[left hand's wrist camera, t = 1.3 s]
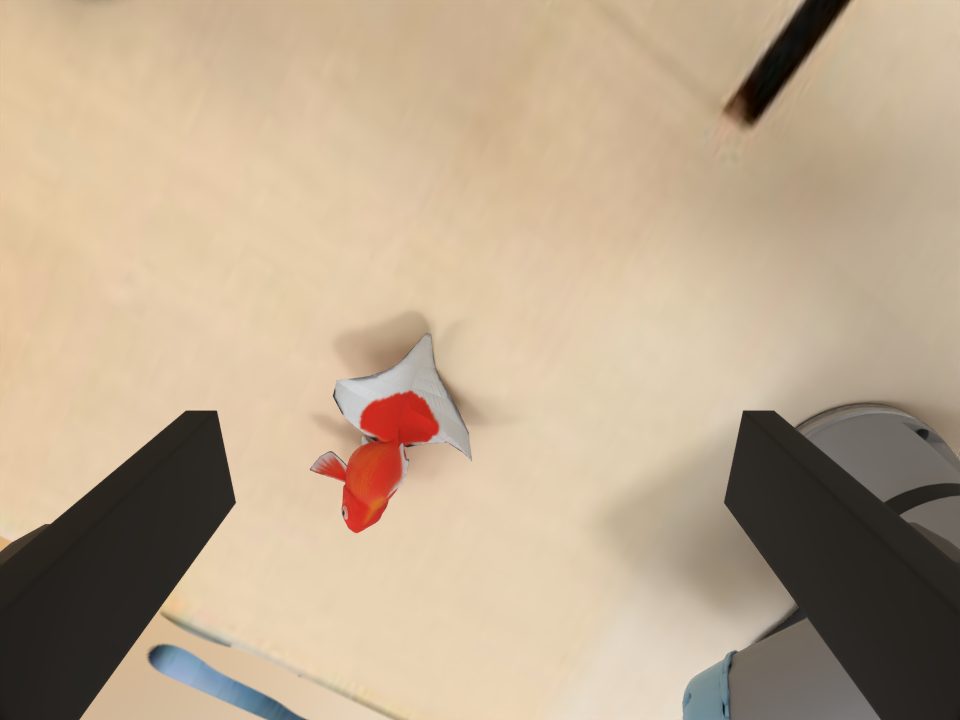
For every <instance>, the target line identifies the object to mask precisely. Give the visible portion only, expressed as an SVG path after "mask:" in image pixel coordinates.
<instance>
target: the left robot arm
mask: <svg viewBox="0 0 960 720" xmlns="http://www.w3.org/2000/svg"><path fill="white" fill-rule="evenodd" d="M235 503H236V501H235V496H234V491H233V486H232V481H231V477H230V472H229V467H228V462H227V457H226V452H225V448H224V443H223V438H222V433H221V428H220V423H219V418H218V414H217V411H185V412H184V413H183V414H182V415H180V416H179V417H178V418H177V419H176V420H174V421H173V422H172V423H171V424H170V425H168V426H167V427H166V428H165V429H164V430H162V431H161V432H160V433H159V434H158V435H156V436H155V437H154V438H153V439H152V440H151V441H149V442H148V443H147V444H146V445H145V446H143V447H142V448H141V449H140V450H139V451H137V452H136V453H135V454H134V455H133V456H131V457H130V458H129V459H128V460H127V461H125V462H124V463H123V464H122V465H121V466H119V467H118V468H117V469H116V470H115V471H113V472H112V473H111V474H110V475H109V476H108V477H106V478H105V479H104V480H103V481H102V482H100V483H99V484H98V485H97V486H96V487H94V488H93V489H92V490H91V491H90V492H88V493H87V494H86V495H85V496H84V497H82V498H81V499H80V500H79V501H78V502H76V503H75V504H74V505H73V506H72V507H70V508H69V509H68V510H67V511H66V512H65V513H63V514H62V515H61V516H60V517H59V518H57V519H56V520H55V521H54V522H53V523H51V524H45V525H43V526H41V527H39V528H37V529H36V530H34V531H32V532H30V533H28V534H27V535H25V536H23V537H21V538H19V539H17V540H16V541H14V542H12V543H11V544H9V545H8V546H7V547H6V548H4V549H3V550H2V551H1V552H0V720H79V719H80V718H81V717H82V715H83V714H84V712H85V711H86V710H87V708H88V707H89V705H90V704H91V703H92V701H93V700H94V699H95V697H96V696H97V694H98V693H99V692H100V690H101V689H102V687H103V686H104V685H105V683H106V682H107V681H108V679H109V678H110V676H111V675H112V674H113V672H114V671H115V669H116V668H117V667H118V665H119V664H120V663H121V661H122V660H123V658H124V657H125V656H126V654H127V653H128V651H129V650H130V649H131V647H132V646H133V645H134V643H135V642H136V640H137V639H138V638H139V636H140V635H141V633H142V632H143V631H144V629H145V628H146V626H147V625H148V624H149V622H150V621H151V620H152V618H153V617H154V615H155V614H156V613H157V611H158V610H159V609H160V607H161V606H162V604H163V603H164V602H165V600H166V599H167V597H168V596H169V595H170V593H171V592H172V591H173V589H174V588H175V586H176V585H177V584H178V582H179V581H180V579H181V578H182V577H183V575H184V574H185V573H186V571H187V570H188V568H189V567H190V566H191V564H192V563H193V561H194V560H195V559H196V557H197V556H198V555H199V553H200V552H201V550H202V549H203V548H204V546H205V545H206V543H207V542H208V541H209V539H210V538H211V537H212V535H213V534H214V532H215V531H216V530H217V528H218V527H219V525H220V524H221V523H222V521H223V520H224V518H225V517H226V516H227V514H228V513H229V512H230V510H231V509H232V507H233V506H234V505H235ZM724 503H725V505H726V506H727V507H728V509H729V510H730V512H731V513H732V514H733V516H734V517H735V518H736V520H737V521H738V523H739V524H740V525H741V527H742V528H743V530H744V531H745V532H746V534H747V535H748V537H749V538H750V539H751V541H752V542H753V543H754V545H755V546H756V548H757V549H758V550H759V552H760V553H761V555H762V556H763V557H764V559H765V560H766V561H767V563H768V564H769V566H770V567H771V568H772V570H773V571H774V573H775V574H776V575H777V577H778V578H779V579H780V581H781V582H782V584H783V585H784V586H785V588H786V589H787V591H788V592H789V593H790V595H791V596H792V597H793V599H794V600H795V602H796V603H797V604H798V606H799V608H798V609H797V610H796V612H795V613H794V614H793V615H792V616H791V617H790V618H788V619H787V620H786V621H785V622H784V623H782V624H781V625H780V626H778V627H777V628H776V629H774V630H773V631H772V632H770V633H769V634H768V635H767V636H765V637H764V638H763V639H762V640H761V641H759V642H757V643H755V644H753V645H751V646H749V647H747V648H745V649H743V650H741V651H739V652H738V651H736V650H735V651H731V652H730V653H728V654H727V655H726V657H725V659H724V660H722V661H720V662H719V663H717V664H715V665H713V666H712V667H710V668H708V669H707V670H705V671H703V672H701V673H700V674H698V675H696V676H695V677H694V678H693V679H692V680H691V681H690V682H689V684H688V685H687V687H686V690H685V693H684V698H683V720H960V460H959V459H958V458H957V457H956V455H955V454H954V453H953V452H952V450H951V449H950V448H949V446H948V445H947V444H946V443H945V441H944V440H943V439H942V438H941V437H940V436H939V435H938V434H937V433H936V432H935V431H934V430H933V429H932V428H930V427H929V426H928V425H926V424H925V423H923V422H921V421H920V420H918V419H916V418H915V417H913V416H911V415H909V414H908V413H906V412H904V411H902V410H899V409H897V408H893V407H890V406H885V405H878V404H858V405H850V406H844V407H841V408H837V409H833V410H830V411H827V412H825V413H822V414H820V415H818V416H816V417H814V418H812V419H810V420H808V421H806V422H805V423H803V424H802V425H800V426H799V427H797V428H796V429H795V428H794V427H793V426H792V425H790V424H789V423H788V422H787V421H786V420H784V419H783V418H782V417H781V416H780V415H778V414H777V413H776V412H775V411H743V414H742V418H741V423H740V428H739V433H738V438H737V443H736V448H735V452H734V457H733V462H732V467H731V472H730V477H729V481H728V486H727V491H726V496H725V501H724Z"/></svg>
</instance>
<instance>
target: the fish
mask: <svg viewBox="0 0 960 720" xmlns="http://www.w3.org/2000/svg"><path fill="white" fill-rule="evenodd" d="M333 397H334V399H335V401H336V403H337V405H338V407H339V409H340V411H341V413H342V414H343V415H344V416H345V417H346V418H347V419H348V421H349V422H350V423H351V424H353V425H354V426H355V427H357V428H358V429H359V430H361V431H362V432H363V433H365V434H366V435H367V436H369V437H370V438H372V439H373V440H374V441H375V442H369V441H368V440H367V439H366V438H365V437H364V436H362V446H361V447H359V448H358V449H357V450H356V451H355V452H354V453H353V454H352V456H351V457H350V459H349V462H348V465H346V464H345V463H344V462H343V461H342V460H341V459H340V458H339V457H338V456H337V455H336V454H335V453H333V452H331V451H330V452H327V453H325V454H324V455H322V456H320V457H319V458H318V460H317V461H316V462H315V463H314V464H313V466H312V467H311V469H310V470H312V471H314V472H316V473H319V474H322V475H325V476H328V477H332V478H335V479H338V480H340V481H343V482H346V483H345V485H344V487H343V503H342V515H343V518H344V520H345V522H346V524H347V526H348V528H349V529H350V530H352V531H353V532H355V533H359V532H361V531H363V530H364V529H366V528H367V527H369V526H371V525H373V524H375V523H376V522H378V521H379V519H380V518H381V515H382V513H383V512H384V510H385V509H386V507H387V504H388V501H389V499H390V498H391V497H392V496H393V494H394V493H395V492H396V490H397V489H398V487H399V486H400V485H401V484H402V483H403V481H404V479H405V476H406V473H407V468H408V463H409V459H407V460H406V454H405V451H404V446H405V447H411V446H415V445H420V444H425V443H446V442H448V443H449V444H451V445H452V446H454V447H455V448H457V449H458V450H460V451H461V452H463V453H464V454H465V455H466V456H467V457H468V458H469V459H470V460H471V461H472V457H471V449H470V440H469V432H468V430H467V428H466V426H465V424H464V422H463V420H462V418H461V415H460V413H459V411H458V409H457V407H456V405H455V403H454V401H453V400H452V398H451V396H450V394H449V393H448V391H447V389H446V388H445V386H444V384H443V382H442V380H441V379H440V377H439V375H438V373H437V371H436V369H435V363H434V356H433V349H432V337H431V334H425V335H424V336H423V337H422V338H421V339H420V341H419V342H418V343H417V344H416V346H415V347H414V348H413V349H412V350H411V351H410V352H409V353H408V354H407V355H406V356H405V358H404V359H403V360H402V361H401V362H400V363H399V364H397V365H395V366H394V367H392V368H390V369H388V370H386V371H384V372H381V373H378V374H374V375H371V376H368V377H361V378H353V379H345V380H337V382H336V386H335V390H334V394H333Z"/></svg>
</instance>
